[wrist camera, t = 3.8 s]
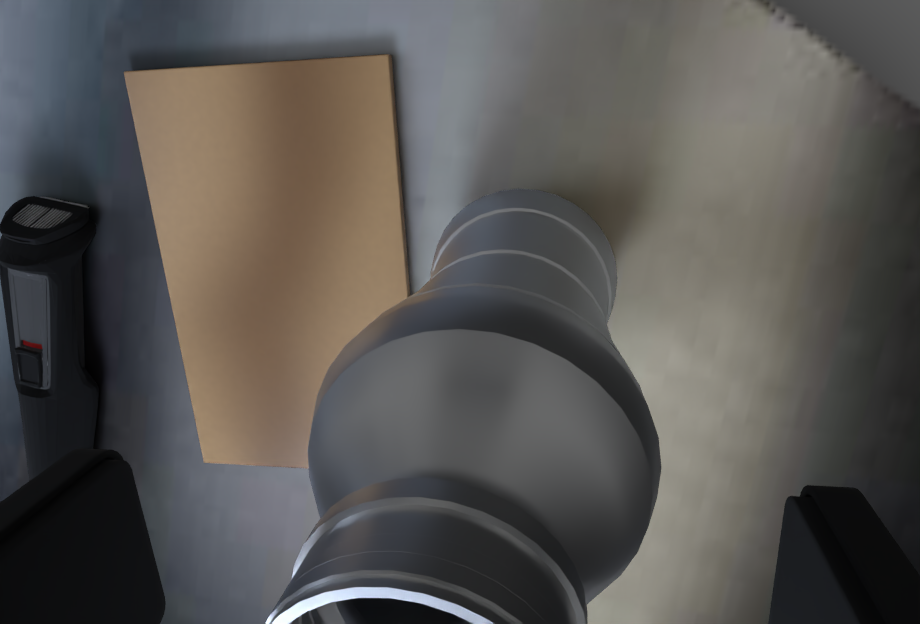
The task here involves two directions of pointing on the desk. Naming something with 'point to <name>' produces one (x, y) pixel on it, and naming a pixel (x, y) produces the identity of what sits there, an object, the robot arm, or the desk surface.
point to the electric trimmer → (48, 325)
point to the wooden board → (271, 233)
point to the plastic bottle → (481, 437)
